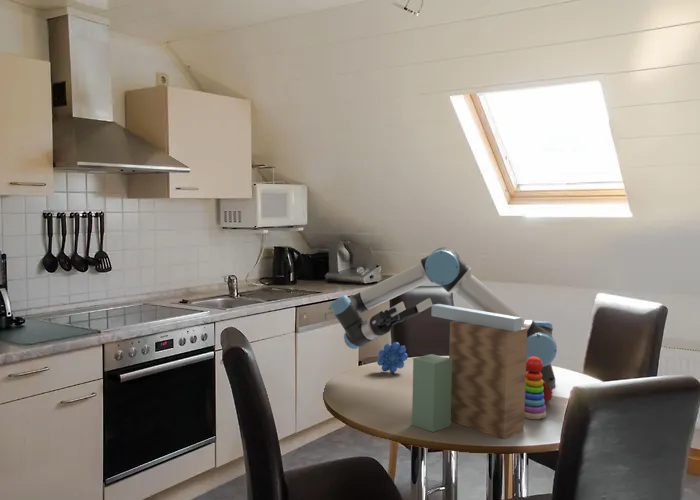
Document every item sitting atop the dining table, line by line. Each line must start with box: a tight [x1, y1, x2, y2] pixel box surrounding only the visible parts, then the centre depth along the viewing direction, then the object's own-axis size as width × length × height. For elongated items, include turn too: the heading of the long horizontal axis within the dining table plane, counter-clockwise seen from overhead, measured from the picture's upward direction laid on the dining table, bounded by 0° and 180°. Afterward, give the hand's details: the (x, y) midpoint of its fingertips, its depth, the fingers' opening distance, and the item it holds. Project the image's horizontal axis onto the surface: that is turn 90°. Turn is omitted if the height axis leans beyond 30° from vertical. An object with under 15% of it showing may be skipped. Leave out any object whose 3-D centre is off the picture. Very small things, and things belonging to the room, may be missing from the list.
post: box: [411, 353, 452, 433], centre depth 189 cm, size 8×8×20 cm
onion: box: [542, 381, 553, 404], centre depth 210 cm, size 6×6×8 cm
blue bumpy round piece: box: [376, 341, 409, 374], centre depth 247 cm, size 12×7×12 cm, turn 81°
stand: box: [448, 320, 527, 439], centre depth 189 cm, size 20×10×30 cm, turn 43°
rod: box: [430, 303, 523, 331], centre depth 191 cm, size 30×4×4 cm, turn 43°
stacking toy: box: [524, 356, 547, 420], centre depth 198 cm, size 8×8×19 cm
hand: (417, 303), depth 212 cm, fingers open, 13 cm apart
